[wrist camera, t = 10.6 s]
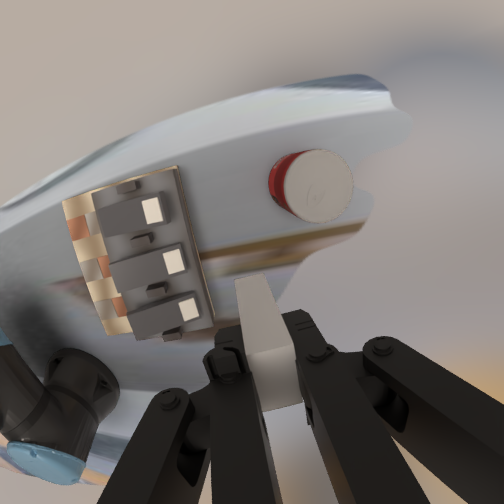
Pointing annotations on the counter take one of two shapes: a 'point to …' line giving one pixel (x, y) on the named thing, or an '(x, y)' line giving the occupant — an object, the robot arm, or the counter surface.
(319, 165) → the canned food
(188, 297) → the rocker
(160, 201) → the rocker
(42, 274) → the counter surface
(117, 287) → the rocker middle
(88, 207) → the switch unit
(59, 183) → the counter surface
